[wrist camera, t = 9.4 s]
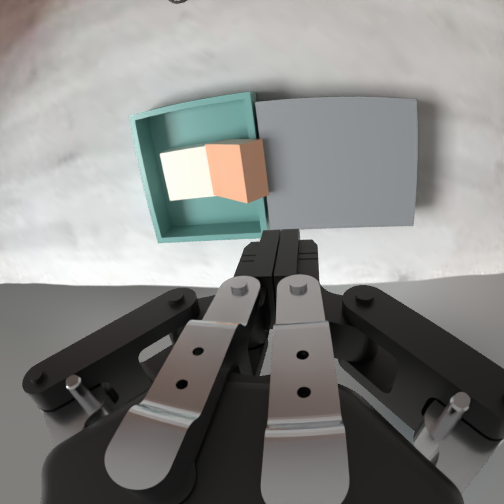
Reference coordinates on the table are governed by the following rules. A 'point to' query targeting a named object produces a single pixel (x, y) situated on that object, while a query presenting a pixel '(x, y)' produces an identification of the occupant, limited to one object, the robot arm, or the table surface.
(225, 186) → the terracotta tile
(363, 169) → the grey flat block
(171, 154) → the cream tile
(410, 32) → the table surface
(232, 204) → the box
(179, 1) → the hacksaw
